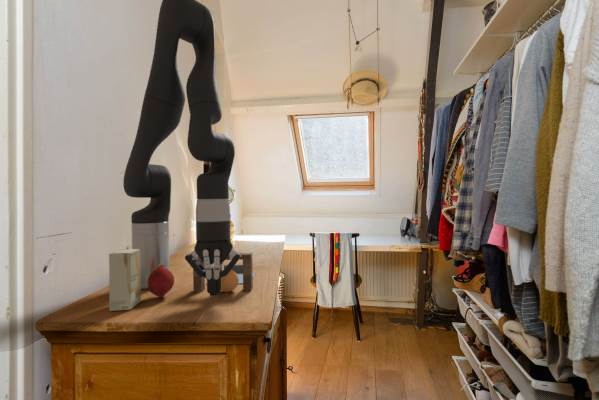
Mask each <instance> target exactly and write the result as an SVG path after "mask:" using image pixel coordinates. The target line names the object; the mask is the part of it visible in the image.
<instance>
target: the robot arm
mask: <svg viewBox="0 0 599 400" xmlns="http://www.w3.org/2000/svg"><path fill="white" fill-rule="evenodd" d="M158 12H159V13H158V19H157V25H156V33H155V42H154V50H153V57H152V63H151V66H150V72H149V77H148V81H147V84H146V89H145V91H144V97H143V101H142V105H141V111H140V116H139V122H138V126H137V131H136V135H135V139H134V141H133V146H132V149H131V152H130V154H129V157H128V161H127V163H126V166H125V171H124V175H123V183H122V184H123V190H124V191H123V192H125V194H126V195H127V196H128V197H131V198H136V199H137V198H139V199H140V198H141V199H144V198H146V199H147V198H150V200H149V203H148V204H147V205H146V206H145V207H143V208H140V209H138V210H136V211H134V212H132V214H131V217H130V218H131V249H140V277H141V290H142V289H145V290H147V289H148V285H147V281H148V278H149V276H150V274H151V273H152V272H153V271H154V270H155V269H156V268H157V267H158V266H159V265H160V264H164V268H166V269H168V270H169V271H170V226H169V224H170V223H169V221H170V220H169V219H170V217H169V216H170V213H171V202H172V201H171V200H172V199H171V197H172V195H171V194H172V177H171V172H170V170H169V169H168V168H167V166H165V165H160V164H151V163H150V162H151V159H152V157H153V155H154V153H155V151H156V150H157V148H158V147H159V146H160V145H161V144H162V142H164V141H165V140H166V139H167V138H168V137H169V136H170V135H171V134H172V133H173V132H175V130H176V129H177V128H178V126H179V125H180V123H181V119H182V117H183V116H182V115H183V113H184V112H183V111H184V107H185V103H186V99H187V104H188V105H187V106H188V109H189V122H188V123H189V124H188V131H187V132H188V133H187V141H186V142H187V143H186V144H187V148H188V151H189V153H190V155H191V156H192V157H193V158H194V159H195V160H197V161H199V162H203V163H204V162H205V163H210V164H209V168H208V170H207V172H203V173H200V174H199V175H197V178H196V204H195V205H196V206H195V237H196V239H195V240H196V243H195V245H194V247H193V250H192V251H191V252H190V253H188V254H186V255H185V256H184V259H185V261H186V262H187V263H188V265H189V266H190V267H191V268H192V270H193V269H194V271H195V272H196V273H197V274H198V276H200V277H205V280H206V284H207V285H206V292H207V294H209V296H210V297H211V296H212V297H215V296H218V295H219V293H220V292H222V291H221V277H223V276H224V277H225V276H226V275H227V274H228V273H229V272H230V271H231V269H232V268H233V267H234V265H237V263H238V261H239V259H240V258H241V256H242V254H241V253H242V252H238V251H236V250H235V249H234V248H233V247H234V245H233V244H232V242H231V217H232V216H231V207H230V197H229V196H230V195H229V194H230V193H229V192H230V191H229V190H230V189H229V180H230V177H231V173H232V169H233V165H234V160H235V153H236V152H235V145H234V142H233V140H232V138H231V137H229V135H227V134H225V133H222V132H221V133H220V132H217V131H213V128H212V126H213V125H216V124H218V123H219V122H221V119H222V114H223V113H222V108H221V103H220V102H221V101H220V97H219V92H218V91H219V90H218V87H217V85H218V84H217V79H216V77H217V76H216V40H215V39H216V37H215V36H216V35H215V34H216V33H215V22H214V18H213V14H212V12H211V10H210V9H209V8H208V7H207V6H206V5H204V4H203V3H201V2H199V1H198V0H162V1H161V4H160V7H159V11H158ZM180 40H183V41H184V42H186V43H188V44H191V45H192V47H193V50H194V55H195V62H194V65H193V67H192V68H191V70H190V73H189V75H188V78H187V81H186V87H185V88H184V85H183V81H182V78H181V77H182V76H181V74H180V70H179V66H178V49H179V48H178V47H179V41H180ZM185 89H186V91H185ZM185 92H186V94H185ZM186 97H187V98H186ZM229 254H231V255H230V260H229V263H228V264H226V265H227V267H226V268H225V269H224V268H223V267H224V261H226V260H225V259H226V258H227V256H228V255H229ZM197 255H198V256H199V257H200V259H201V260H202V261H203V262H204V266H205V268H204V267H203V265H202V264H201V263H200V262H199V261H198V256H197Z"/></svg>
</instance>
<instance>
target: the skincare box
mask: <svg viewBox="0 0 599 400" xmlns="http://www.w3.org/2000/svg"><path fill="white" fill-rule="evenodd" d="M108 273H109V274H108V275H109V276H108V279H109V280H108V282H109V284H108V285H109V287H108V288H109V290H108V291H109V297H108V298H109V302H108V303H109V311H110V312H113V311H129V310H132V309H133V308H134V307H135V306H137V305H138V304H140V302H142V294H141V292H142V291H141V290H142V289H141V277H140V249H132V248H129V249H126V248H125V249H120V250H115V251H113V252H111V253H108Z"/></svg>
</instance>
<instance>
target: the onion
mask: <svg viewBox="0 0 599 400" xmlns="http://www.w3.org/2000/svg"><path fill="white" fill-rule="evenodd" d="M174 284H175V277H174V274H173V273H172V272H171V271H170V269H169V270H168V269H166V268H164V264H160V265H159V266H158V267H157V268H156V269H155V270H154V271H153V272H152V273H151V274H150V276H149V278H148V281H147V285H148V288H147V289H148V291H149V292H150V293H151V294H152V295H154V296H156V297H158V298H164V297H165V295H166V294H168V293H169V292H170V290H172V288H173V287H174Z"/></svg>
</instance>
